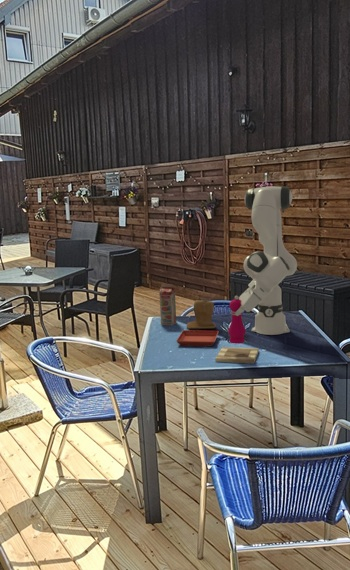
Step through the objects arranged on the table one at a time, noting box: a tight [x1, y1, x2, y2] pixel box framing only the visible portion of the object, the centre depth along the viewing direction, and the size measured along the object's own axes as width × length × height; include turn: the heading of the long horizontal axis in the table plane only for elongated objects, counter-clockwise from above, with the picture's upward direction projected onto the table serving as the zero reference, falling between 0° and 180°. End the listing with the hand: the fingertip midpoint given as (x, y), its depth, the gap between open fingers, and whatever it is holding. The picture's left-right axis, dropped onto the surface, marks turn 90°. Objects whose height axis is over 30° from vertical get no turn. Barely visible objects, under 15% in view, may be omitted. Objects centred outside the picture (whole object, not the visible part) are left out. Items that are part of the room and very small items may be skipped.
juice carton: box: [158, 283, 177, 326], centre depth 278 cm, size 7×7×22 cm
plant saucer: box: [176, 329, 220, 347], centre depth 244 cm, size 18×18×3 cm
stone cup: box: [186, 299, 217, 330], centre depth 267 cm, size 15×12×15 cm
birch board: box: [215, 346, 259, 364], centre depth 219 cm, size 16×16×2 cm
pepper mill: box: [227, 295, 246, 345], centre depth 216 cm, size 7×7×20 cm
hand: (235, 312), depth 216 cm, fingers closed on pepper mill, 5 cm apart
